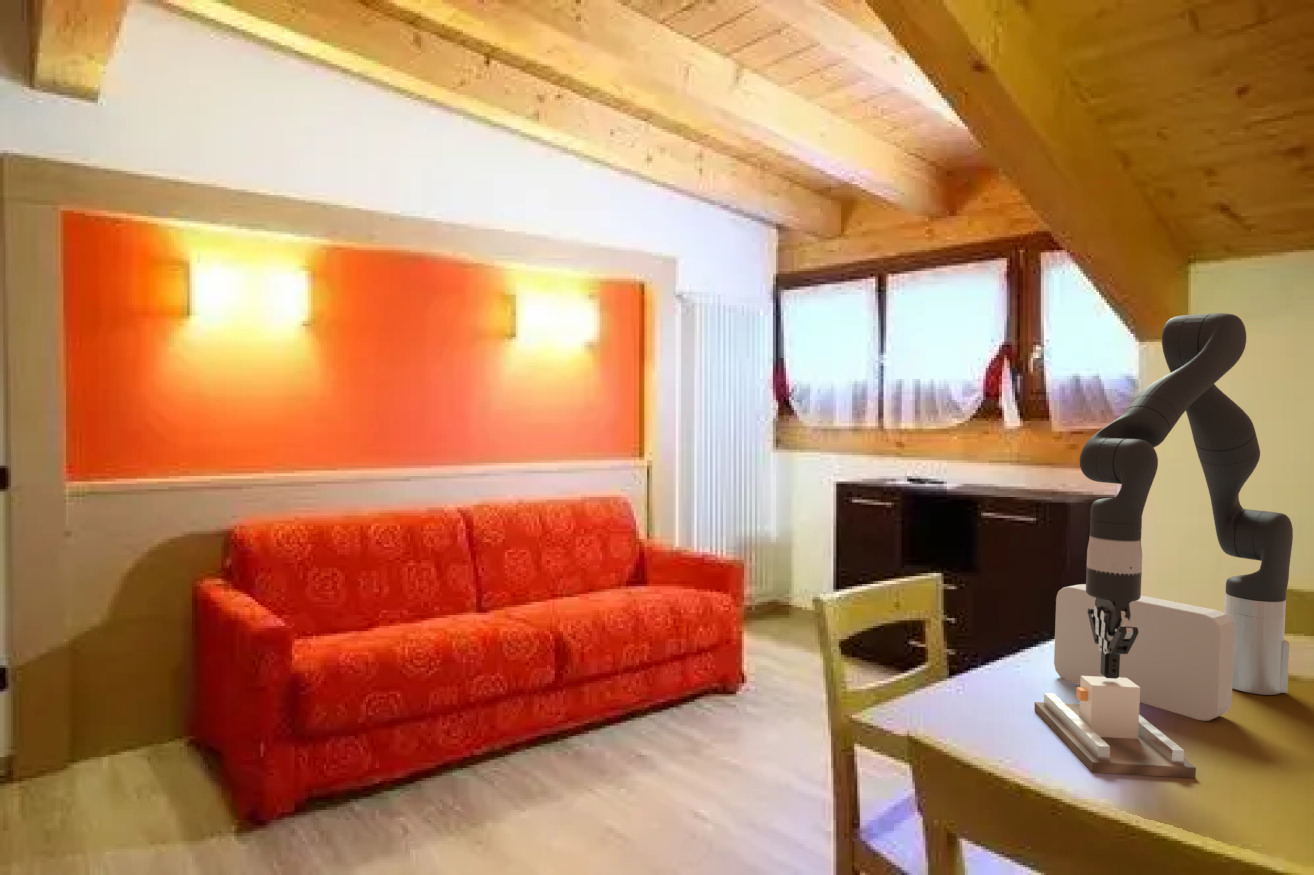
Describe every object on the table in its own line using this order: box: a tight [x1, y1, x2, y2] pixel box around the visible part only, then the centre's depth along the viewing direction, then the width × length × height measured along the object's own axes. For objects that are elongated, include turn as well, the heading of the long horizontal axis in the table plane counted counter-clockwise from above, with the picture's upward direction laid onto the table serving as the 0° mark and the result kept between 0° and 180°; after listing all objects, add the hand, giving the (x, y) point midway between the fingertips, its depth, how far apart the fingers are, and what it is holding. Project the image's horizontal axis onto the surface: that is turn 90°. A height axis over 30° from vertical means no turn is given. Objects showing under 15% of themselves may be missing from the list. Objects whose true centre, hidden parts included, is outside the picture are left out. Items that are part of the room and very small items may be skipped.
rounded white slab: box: [1053, 583, 1235, 722], centre depth 152 cm, size 29×8×18 cm, turn 33°
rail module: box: [1075, 676, 1141, 739], centre depth 131 cm, size 8×4×8 cm, turn 84°
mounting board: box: [1033, 701, 1197, 779], centre depth 132 cm, size 14×24×2 cm, turn 174°
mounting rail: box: [1043, 692, 1185, 764], centre depth 132 cm, size 12×22×2 cm, turn 174°
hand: (1109, 676), depth 131 cm, fingers closed
